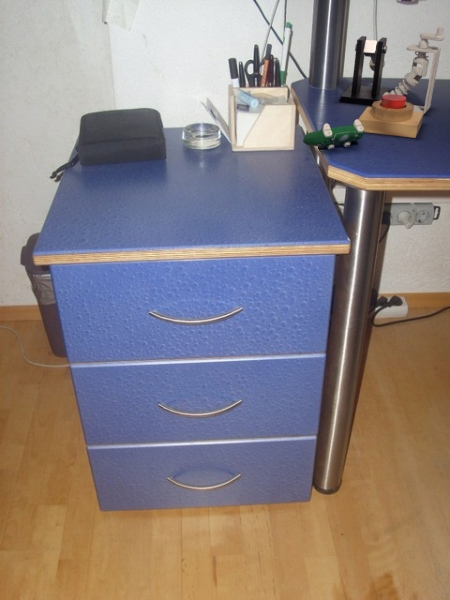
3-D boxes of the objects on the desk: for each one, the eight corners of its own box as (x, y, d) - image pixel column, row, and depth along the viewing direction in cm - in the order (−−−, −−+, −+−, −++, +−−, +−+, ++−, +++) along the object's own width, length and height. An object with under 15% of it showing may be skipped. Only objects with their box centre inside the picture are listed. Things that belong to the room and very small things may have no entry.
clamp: (384, 103, 118) (396, 21, 110) (433, 109, 115) (449, 24, 106) (378, 108, 115) (390, 24, 107) (428, 115, 112) (444, 28, 103)
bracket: (350, 90, 127) (357, 33, 121) (388, 93, 124) (397, 35, 118) (340, 102, 119) (346, 41, 113) (380, 106, 117) (388, 44, 110)
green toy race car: (307, 159, 98) (321, 142, 92) (300, 138, 98) (314, 119, 92) (356, 151, 100) (373, 134, 94) (349, 131, 101) (366, 112, 95)
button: (406, 105, 104) (407, 95, 103) (402, 111, 101) (404, 101, 100) (383, 103, 105) (384, 93, 105) (379, 109, 102) (380, 99, 101)
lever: (368, 72, 129) (371, 57, 128) (383, 73, 128) (386, 58, 127) (360, 54, 116) (363, 37, 115) (376, 55, 115) (380, 38, 114)
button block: (421, 124, 107) (425, 102, 105) (415, 138, 101) (419, 114, 98) (366, 118, 110) (368, 96, 108) (356, 131, 104) (359, 108, 102)
